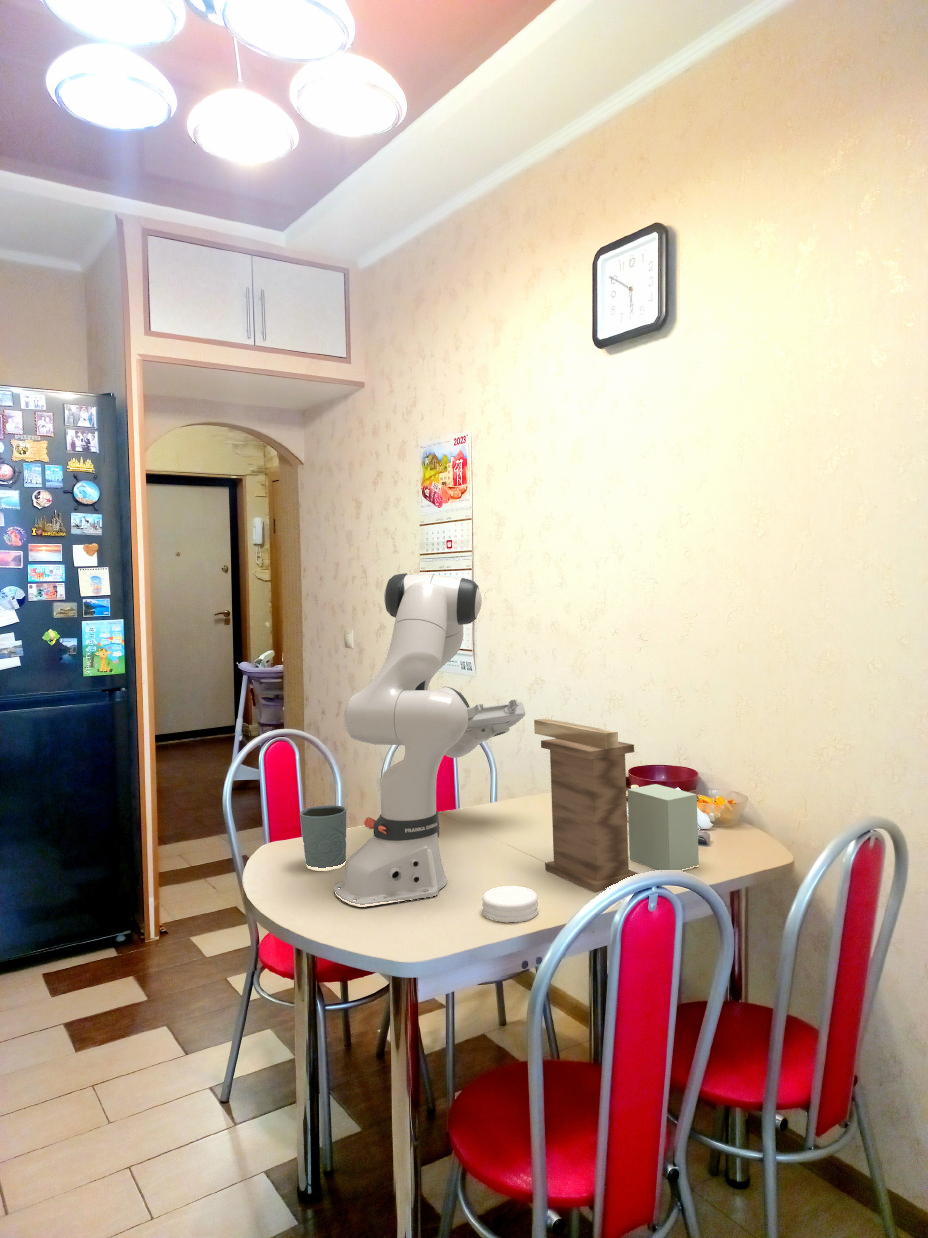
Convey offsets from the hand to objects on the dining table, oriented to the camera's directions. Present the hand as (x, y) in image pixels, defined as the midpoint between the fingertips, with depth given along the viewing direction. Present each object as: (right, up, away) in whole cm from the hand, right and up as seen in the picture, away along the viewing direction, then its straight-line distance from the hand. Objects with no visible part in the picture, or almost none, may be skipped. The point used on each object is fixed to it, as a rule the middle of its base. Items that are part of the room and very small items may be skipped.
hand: (498, 704), depth 195 cm
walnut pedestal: (+17, -32, -28) cm, 46 cm away
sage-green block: (+34, -31, -22) cm, 51 cm away
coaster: (0, -33, -46) cm, 57 cm away
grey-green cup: (-38, -34, -15) cm, 53 cm away
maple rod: (+15, -5, -25) cm, 29 cm away
